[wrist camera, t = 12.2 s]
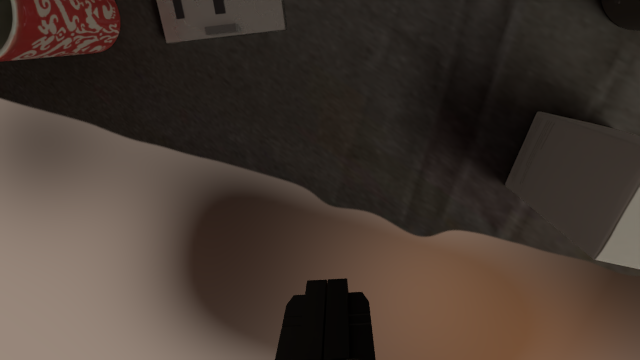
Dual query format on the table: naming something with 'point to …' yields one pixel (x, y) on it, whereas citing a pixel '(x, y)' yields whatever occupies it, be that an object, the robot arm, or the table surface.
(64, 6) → the mug
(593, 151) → the supplement box
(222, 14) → the console
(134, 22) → the table surface
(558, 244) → the table surface
